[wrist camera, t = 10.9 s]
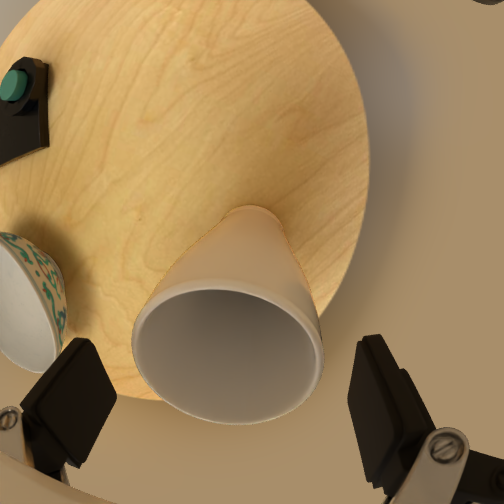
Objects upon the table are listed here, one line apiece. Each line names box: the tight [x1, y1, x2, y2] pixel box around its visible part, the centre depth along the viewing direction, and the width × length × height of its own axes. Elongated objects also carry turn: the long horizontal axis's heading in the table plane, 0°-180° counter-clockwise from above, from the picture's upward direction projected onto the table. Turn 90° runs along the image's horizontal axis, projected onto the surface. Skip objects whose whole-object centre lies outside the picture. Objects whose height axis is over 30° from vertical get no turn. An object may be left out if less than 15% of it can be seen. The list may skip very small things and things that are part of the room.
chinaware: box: [0, 232, 67, 373], centre depth 22 cm, size 15×15×8 cm
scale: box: [0, 57, 49, 167], centre depth 18 cm, size 10×13×3 cm
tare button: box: [0, 70, 28, 101], centre depth 15 cm, size 3×3×2 cm
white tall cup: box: [131, 205, 324, 425], centre depth 16 cm, size 7×7×15 cm
